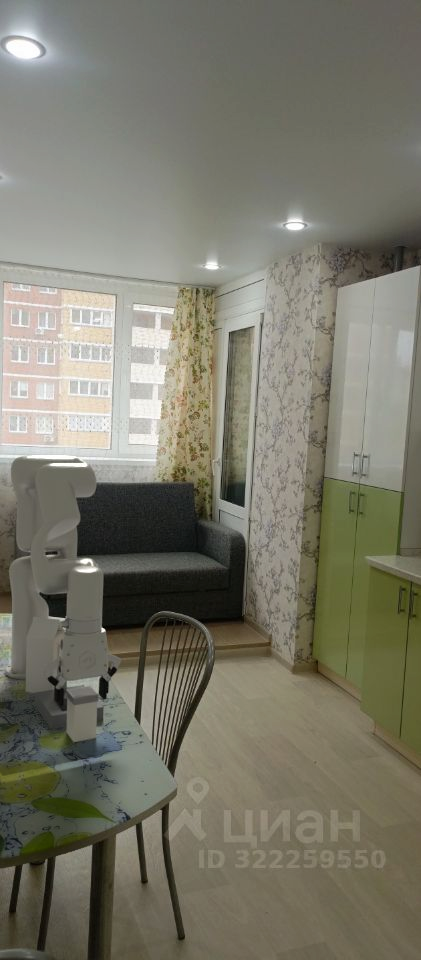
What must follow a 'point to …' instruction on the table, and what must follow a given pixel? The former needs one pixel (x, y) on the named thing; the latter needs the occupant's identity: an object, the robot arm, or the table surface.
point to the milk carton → (41, 652)
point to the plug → (81, 713)
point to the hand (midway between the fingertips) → (81, 700)
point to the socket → (57, 708)
